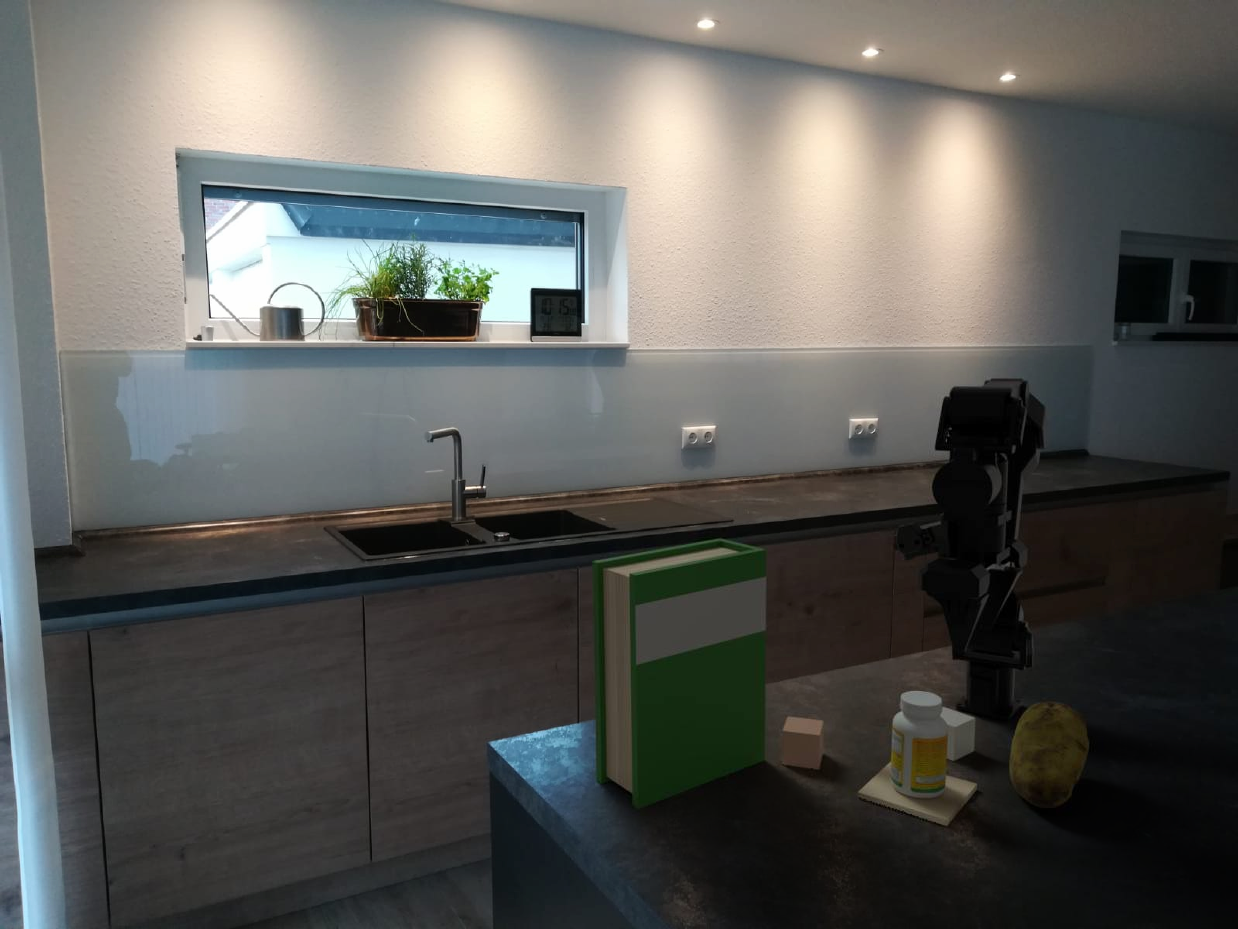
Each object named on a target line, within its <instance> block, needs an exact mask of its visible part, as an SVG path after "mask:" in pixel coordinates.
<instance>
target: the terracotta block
mask: <svg viewBox="0 0 1238 929" xmlns="http://www.w3.org/2000/svg"><path fill="white" fill-rule="evenodd" d="M824 725H825V724H824V720H820V719H813V718H812V719H811V718H805V717H794V716H787V718H786V720H785V723H784V726H783V728H782V730H781V731H782V732H781V733H782V734H781V735H782V737H781V738H782V740H781V742H782V743H781V747H782V748H781V765H782V764H784V765H783V766H789V765H790V766H789V767H799V768H804V767H805V769H811V768H813V769H812V770H820V767H821V763H822V758H823V756H824Z"/></svg>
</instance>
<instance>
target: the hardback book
mask: <svg viewBox="0 0 1238 929" xmlns="http://www.w3.org/2000/svg"><path fill="white" fill-rule="evenodd" d="M592 599H593V600H592V602H593V603H592V605H593V606H592V608H593V610H592V611H593V652H594V653H593V654H594V655H593V658H594V662H593V663H594V667H593V668H594V702H595V704H594V705H595V706H594V709H595V710H594V712H595V713H594V715H595V754H596V756H595V758H596V759H595V764H596V765H595V766H596V768H595V769H596V782H598V783H599V784H601V785H603V784H606V783H608V782H609V783H610V782H611V781H612V782H614V783H616V784H617V785H619V786H620V787H622V788H623V789H624V790H626V791H628V792H629V793H631V794H632V795H631V796H632V797H631V798H632V806H633V807H635V808H636V809H637V810H639V809H642V808H644V807H648V806H651V805H653V804H655V803H657V802H660V801H663V800H666V799H668V798H670V797H673V796H676V795H678V794H681V793H683V792H686V791H689V790H692V789H694V788H696V787H697V788H698V787H700V786H702V785H704V784H707V783H709V782H712V781H715V780H717V778H718V779H720V778H723V777H726V776H728V775H730V774H729V773H731V774H733V773H735V771H736V772H738V771H741V770H744V769H746V768H748V767H751V766H754V765H757V764H759V763H761V762H764V761H765V760H766V674H767V673H766V672H767V671H766V666H767V664H766V660H767V659H766V656H767V654H766V652H767V651H766V649H767V648H766V647H767V646H766V645H767V642H766V641H767V640H766V639H767V638H766V636H767V633H766V630H767V549H765V548H762V547H757V546H753V545H749V544H745V543H741V542H736V541H732V540H729V539H724V538H715V539H710V540H704V541H699V542H692V543H688V544H682V545H681V544H680V545H676V546H670V547H665V548H660V549H653V550H648V551H642V552H637V553H636V552H635V553H631V554H627V555H625V554H624V555H621V556H614V557H609V558H603V559H598V560H593V561H592ZM763 760H764V761H763ZM756 763H757V764H756ZM745 767H746V768H745ZM737 770H738V771H737ZM719 777H720V778H719ZM711 780H712V781H711ZM701 784H702V785H701Z"/></svg>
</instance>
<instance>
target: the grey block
mask: <svg viewBox="0 0 1238 929" xmlns="http://www.w3.org/2000/svg"><path fill="white" fill-rule="evenodd" d="M940 716H941V717H942V718H943V719H944V720H945V721H946V723H947V726H948V742H947V760H950V761H953V762H955V761H956V760H959V759H961V758H963V757H965V756H967V755H969V754H971V753H973V752H974V751H975V734H976V733H975V732H976V717H974V716H970V715H969V714H965V713H962V712H960V711H956V710H954V709H951V708H949V707H948V708H947V707H945V706H942V713H941V715H940Z"/></svg>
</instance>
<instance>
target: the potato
mask: <svg viewBox="0 0 1238 929" xmlns="http://www.w3.org/2000/svg"><path fill="white" fill-rule="evenodd" d="M1087 728H1088V727H1087V723H1086V720H1085V716H1084V715H1083V714H1082V713H1081V712H1080V711H1079V710H1077V709H1074V708H1073V707H1072V706H1071V705H1068V704H1064V703H1063V702H1059V701H1040V702H1036V703H1035V704H1032V705H1030V706H1029V707H1028V708H1027V709H1026V710H1025V711H1024V712H1023V713H1022V714H1021V716H1020V718H1019V719H1018V722H1017V725H1016V727H1015V731H1014V736H1013V738H1012V740H1011V748H1010V757H1009V763H1008V764H1009V765H1008V766H1009V770H1008V771H1009V777H1010V780H1011V783H1012V785H1013V787H1014V789H1015V791H1016V792H1017V793H1018V794H1019V796H1021V797H1022V798H1023V799H1024V800H1025V801H1027V802H1028V803H1029V804H1031V805H1033V806H1035V807H1038V808H1039V809H1053V808H1057V807H1058V808H1059V807H1060V806H1062V805H1063V804H1064V803H1066V802H1068V801H1069V799H1070V798H1072V796H1073V793H1072V792H1073V789H1074V787H1075V785H1077V784H1078V783H1079V782H1080V779H1081V777H1082V775H1083V772H1084V766H1085V765H1086V761H1087V759H1088V753H1089V749H1090V741H1089V737H1088V731H1087V730H1088V729H1087Z"/></svg>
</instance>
